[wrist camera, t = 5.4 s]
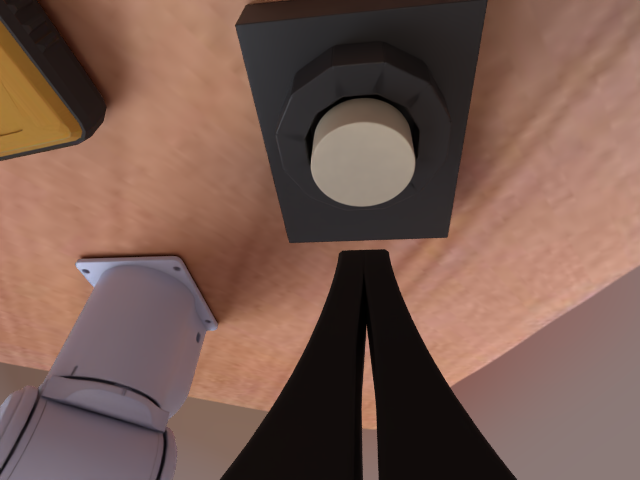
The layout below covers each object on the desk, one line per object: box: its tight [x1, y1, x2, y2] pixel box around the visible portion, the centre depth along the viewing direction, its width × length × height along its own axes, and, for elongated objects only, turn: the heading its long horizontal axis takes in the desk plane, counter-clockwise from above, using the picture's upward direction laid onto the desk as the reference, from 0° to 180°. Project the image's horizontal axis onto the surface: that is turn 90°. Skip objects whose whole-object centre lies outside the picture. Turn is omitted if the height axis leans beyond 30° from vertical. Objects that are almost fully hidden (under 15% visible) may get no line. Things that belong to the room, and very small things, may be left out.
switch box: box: [235, 0, 488, 243], centre depth 19 cm, size 12×9×4 cm
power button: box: [311, 98, 415, 206], centre depth 16 cm, size 4×4×2 cm
